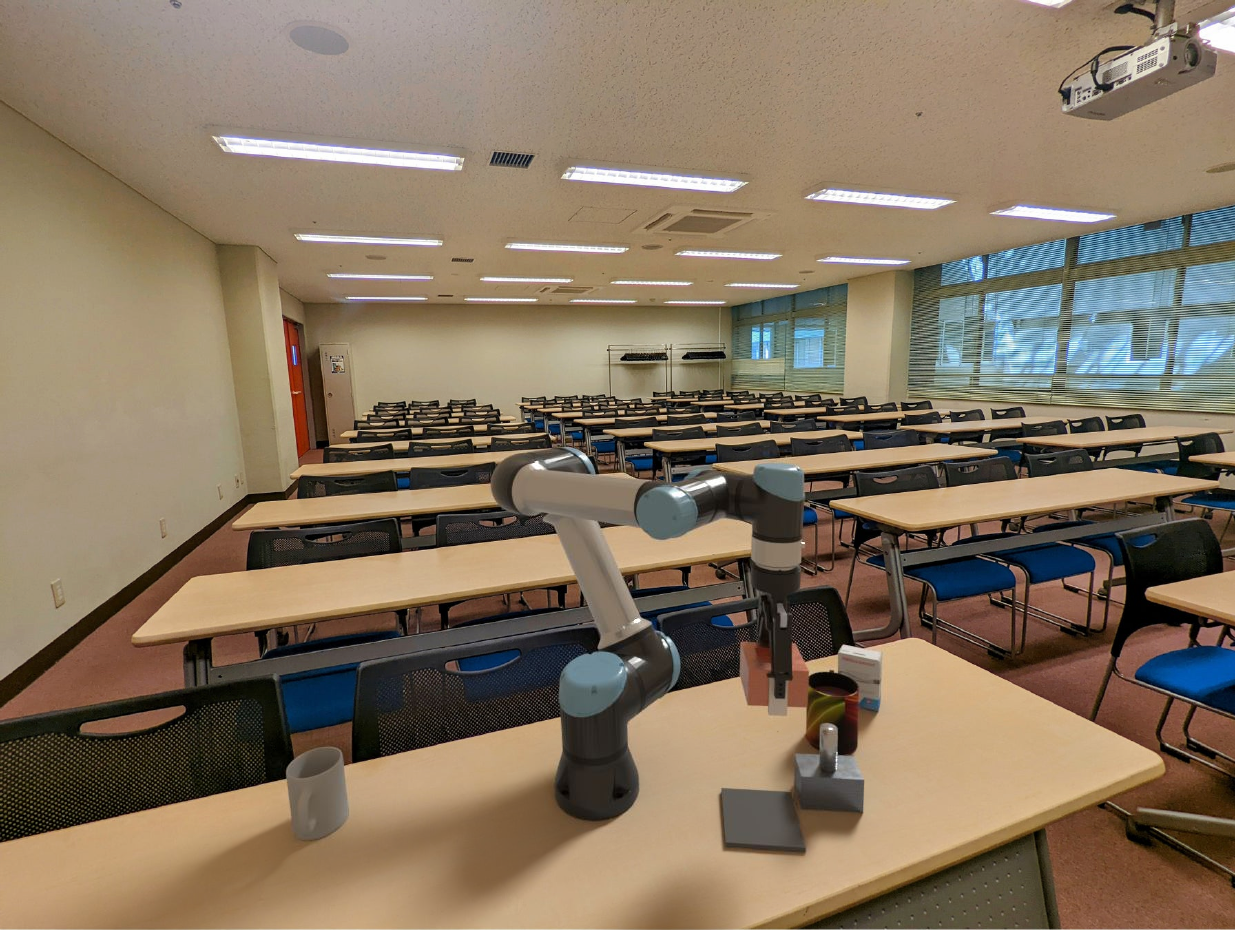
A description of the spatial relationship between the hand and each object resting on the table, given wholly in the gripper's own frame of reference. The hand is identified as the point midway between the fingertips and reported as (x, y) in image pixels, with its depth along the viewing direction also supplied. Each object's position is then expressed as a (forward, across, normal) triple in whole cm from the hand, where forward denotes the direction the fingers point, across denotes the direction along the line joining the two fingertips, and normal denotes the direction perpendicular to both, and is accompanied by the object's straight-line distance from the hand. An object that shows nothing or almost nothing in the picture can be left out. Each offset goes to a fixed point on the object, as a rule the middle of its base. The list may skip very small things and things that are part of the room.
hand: (771, 696), depth 91 cm
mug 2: (+21, +22, -16) cm, 34 cm away
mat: (+21, -2, +2) cm, 21 cm away
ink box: (+21, +34, -26) cm, 48 cm away
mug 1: (+23, -7, +75) cm, 78 cm away
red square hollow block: (-1, 0, 0) cm, 1 cm away
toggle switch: (+21, +3, -11) cm, 23 cm away
